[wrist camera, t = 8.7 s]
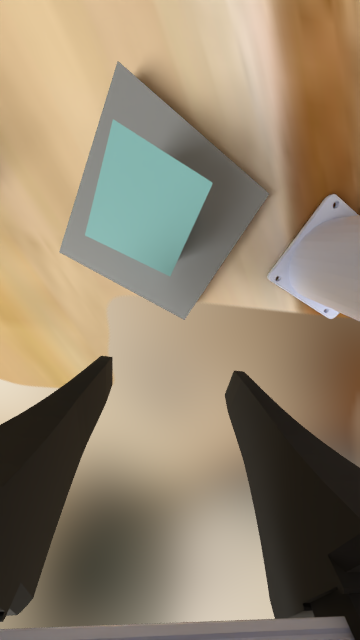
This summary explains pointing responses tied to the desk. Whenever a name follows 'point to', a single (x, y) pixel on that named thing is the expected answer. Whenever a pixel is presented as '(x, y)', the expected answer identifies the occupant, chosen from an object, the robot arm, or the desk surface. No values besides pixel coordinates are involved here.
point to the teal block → (144, 201)
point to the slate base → (214, 217)
